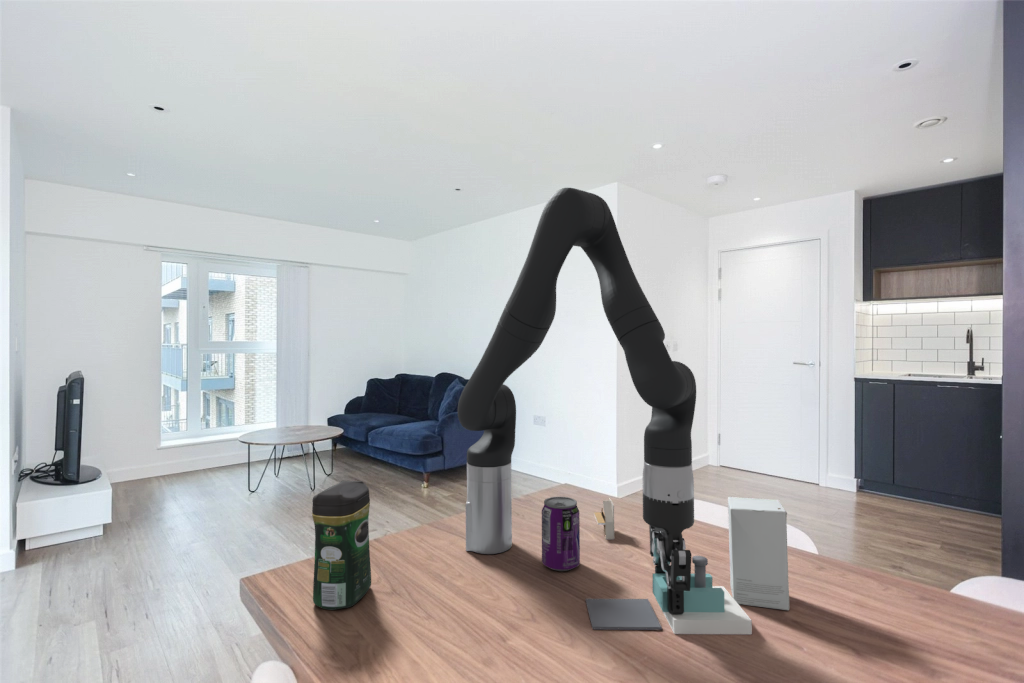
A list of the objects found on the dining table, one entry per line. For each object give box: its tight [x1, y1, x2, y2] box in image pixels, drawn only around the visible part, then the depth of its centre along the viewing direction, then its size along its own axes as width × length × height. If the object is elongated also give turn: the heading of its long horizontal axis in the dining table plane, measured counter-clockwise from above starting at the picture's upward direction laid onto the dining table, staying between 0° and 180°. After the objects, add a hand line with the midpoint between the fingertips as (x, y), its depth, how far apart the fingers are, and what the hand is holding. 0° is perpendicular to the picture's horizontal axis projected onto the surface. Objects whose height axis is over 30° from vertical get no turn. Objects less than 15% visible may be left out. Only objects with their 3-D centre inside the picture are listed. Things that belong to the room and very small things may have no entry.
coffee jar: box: [311, 479, 372, 611], centre depth 82 cm, size 10×8×19 cm
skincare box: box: [727, 496, 790, 611], centre depth 81 cm, size 8×7×16 cm
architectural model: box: [593, 497, 615, 540], centre depth 109 cm, size 3×7×7 cm, turn 178°
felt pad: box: [585, 598, 663, 631], centre depth 76 cm, size 10×8×1 cm
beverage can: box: [541, 496, 581, 572], centre depth 93 cm, size 7×7×12 cm
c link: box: [652, 572, 725, 613], centre depth 76 cm, size 9×6×3 cm, turn 89°
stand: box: [658, 555, 753, 635], centre depth 76 cm, size 11×10×9 cm
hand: (668, 600), depth 76 cm, fingers open, 6 cm apart
